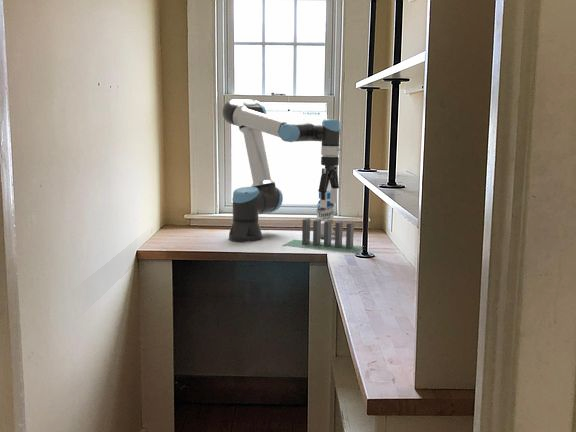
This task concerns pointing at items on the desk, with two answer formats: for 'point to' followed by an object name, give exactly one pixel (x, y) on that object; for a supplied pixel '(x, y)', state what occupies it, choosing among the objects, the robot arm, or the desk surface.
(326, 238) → the domino
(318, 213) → the beverage bottle
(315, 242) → the domino
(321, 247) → the mat
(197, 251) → the desk surface
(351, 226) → the domino
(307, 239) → the domino
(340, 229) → the domino
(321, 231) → the die
